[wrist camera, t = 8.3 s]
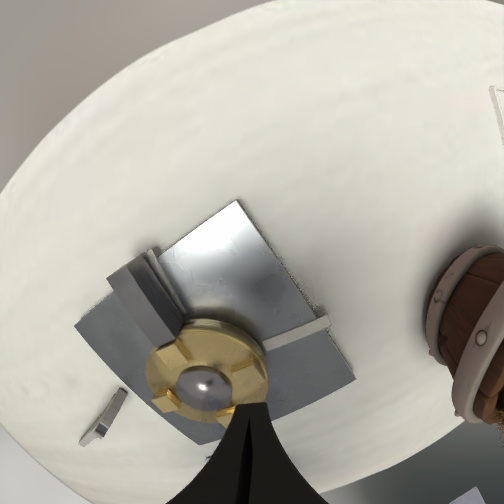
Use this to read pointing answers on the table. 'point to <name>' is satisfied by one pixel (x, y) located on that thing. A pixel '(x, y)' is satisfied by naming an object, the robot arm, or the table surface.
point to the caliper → (104, 419)
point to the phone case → (498, 109)
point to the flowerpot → (471, 332)
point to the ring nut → (190, 352)
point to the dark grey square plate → (227, 318)
